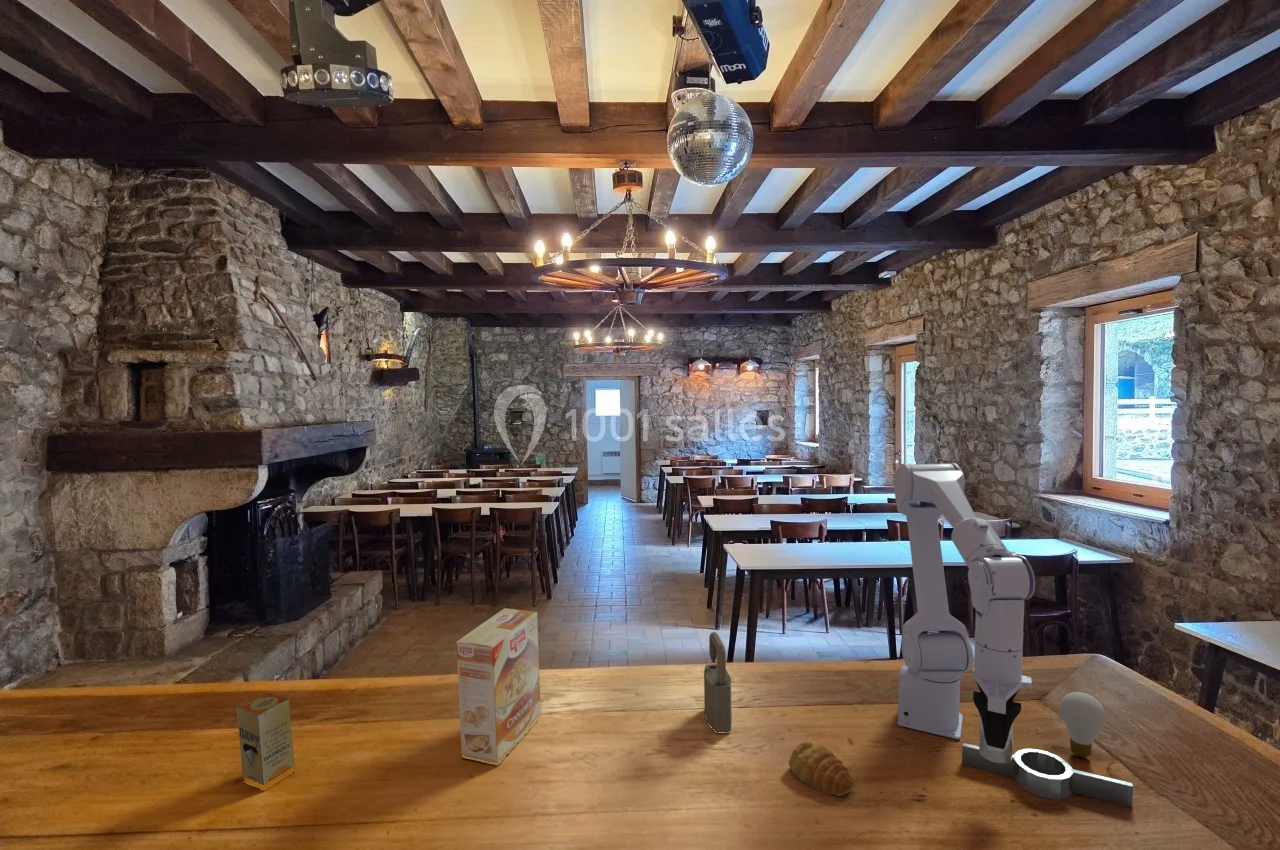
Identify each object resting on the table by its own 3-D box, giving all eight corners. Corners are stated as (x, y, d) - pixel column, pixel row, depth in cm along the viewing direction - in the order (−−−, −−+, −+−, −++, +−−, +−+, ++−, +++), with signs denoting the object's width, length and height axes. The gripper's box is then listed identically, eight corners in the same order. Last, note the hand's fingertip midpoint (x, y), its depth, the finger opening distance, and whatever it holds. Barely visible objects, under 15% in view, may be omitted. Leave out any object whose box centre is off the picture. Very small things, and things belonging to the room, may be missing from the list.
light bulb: (1111, 770, 96) (1114, 705, 95) (1067, 766, 97) (1070, 702, 96) (1092, 746, 101) (1095, 686, 101) (1051, 743, 103) (1053, 683, 102)
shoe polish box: (274, 764, 102) (268, 692, 101) (294, 772, 100) (288, 698, 99) (243, 783, 98) (236, 707, 97) (264, 791, 96) (257, 714, 94)
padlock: (723, 707, 116) (722, 626, 114) (735, 732, 108) (734, 646, 106) (701, 709, 115) (700, 628, 114) (712, 734, 107) (710, 648, 106)
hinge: (960, 775, 95) (961, 756, 95) (963, 750, 101) (963, 732, 101) (1136, 821, 85) (1137, 800, 85) (1127, 790, 91) (1128, 770, 91)
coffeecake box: (498, 767, 100) (493, 646, 98) (459, 759, 102) (453, 641, 101) (543, 717, 114) (539, 610, 112) (508, 711, 116) (503, 606, 115)
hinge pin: (978, 758, 89) (979, 709, 88) (979, 743, 92) (980, 696, 92) (1012, 766, 87) (1013, 717, 86) (1011, 750, 90) (1013, 703, 90)
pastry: (864, 787, 94) (864, 762, 93) (833, 807, 90) (833, 781, 89) (813, 756, 101) (813, 733, 101) (783, 772, 97) (783, 749, 97)
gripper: (1034, 672, 80) (1031, 775, 81) (1030, 628, 92) (1027, 718, 94) (970, 660, 83) (968, 759, 85) (975, 620, 96) (973, 707, 97)
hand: (995, 737), depth 89 cm, fingers closed on hinge pin, 4 cm apart
